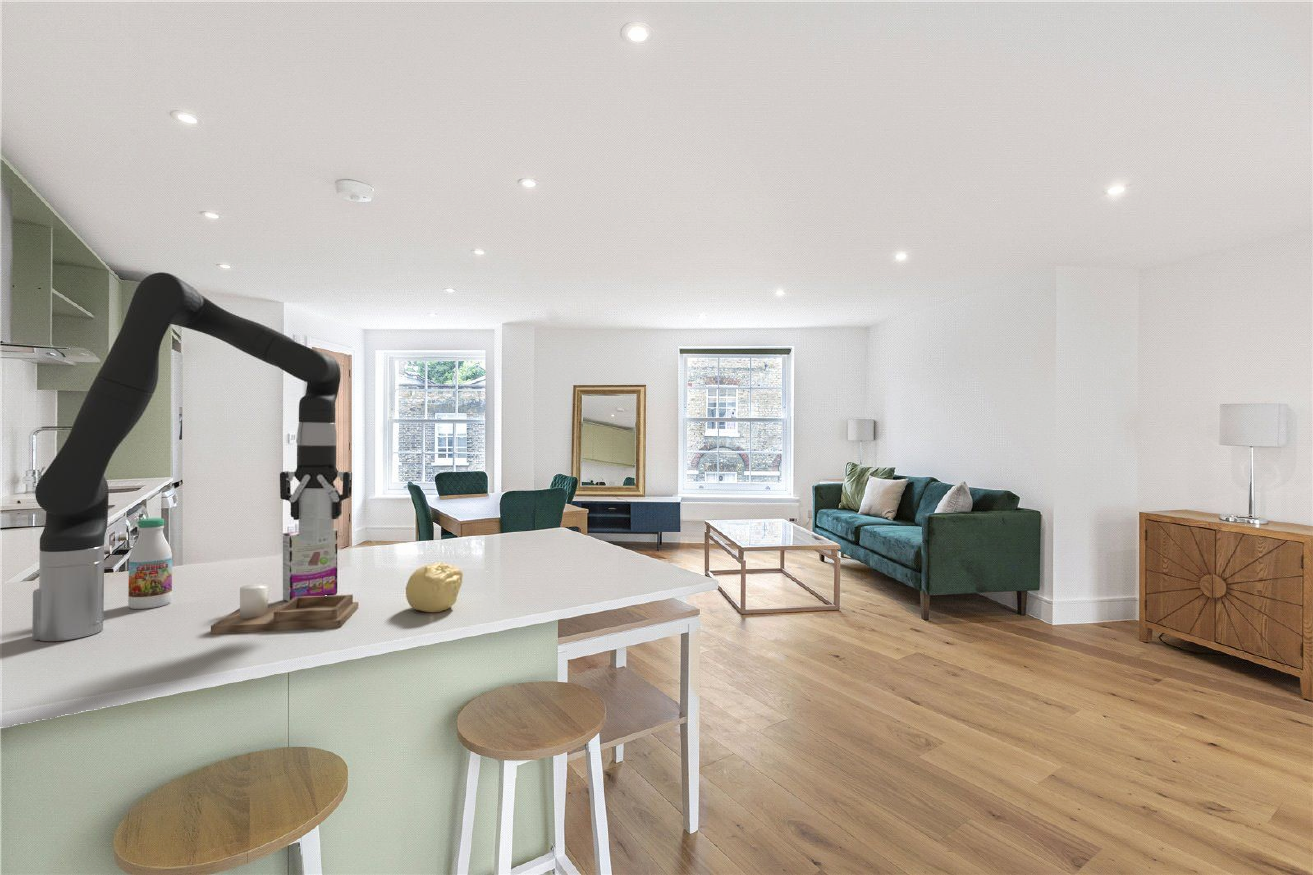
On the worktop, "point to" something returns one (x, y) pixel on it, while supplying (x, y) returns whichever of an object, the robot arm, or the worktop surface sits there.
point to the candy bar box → (308, 567)
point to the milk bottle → (150, 567)
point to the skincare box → (315, 516)
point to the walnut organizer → (285, 612)
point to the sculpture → (434, 587)
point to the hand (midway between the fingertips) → (316, 518)
